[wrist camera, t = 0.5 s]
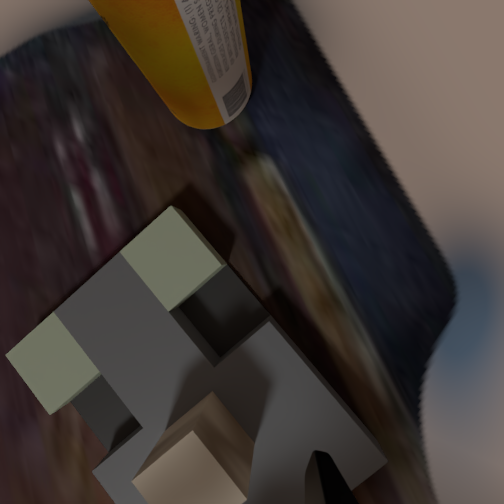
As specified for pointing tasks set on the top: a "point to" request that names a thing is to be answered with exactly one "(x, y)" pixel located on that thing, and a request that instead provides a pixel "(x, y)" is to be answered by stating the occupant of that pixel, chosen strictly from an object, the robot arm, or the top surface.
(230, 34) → the beer can
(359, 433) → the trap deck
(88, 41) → the top surface
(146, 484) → the block
